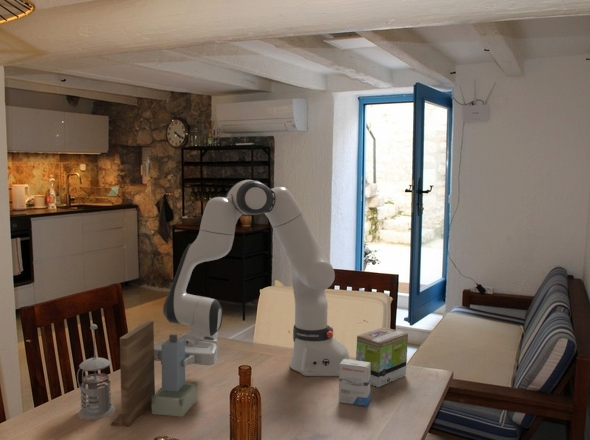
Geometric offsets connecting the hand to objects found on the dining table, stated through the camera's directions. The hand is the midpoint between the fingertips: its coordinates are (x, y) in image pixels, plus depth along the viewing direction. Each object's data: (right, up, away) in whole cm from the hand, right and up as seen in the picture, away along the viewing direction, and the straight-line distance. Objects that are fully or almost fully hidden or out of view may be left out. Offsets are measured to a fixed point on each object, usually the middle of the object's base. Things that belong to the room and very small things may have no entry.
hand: (173, 363), depth 157 cm
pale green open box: (0, -13, +2) cm, 13 cm away
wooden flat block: (-10, -13, -2) cm, 17 cm away
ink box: (+52, -13, +7) cm, 54 cm away
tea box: (+62, -11, +24) cm, 68 cm away
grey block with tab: (0, -7, +1) cm, 7 cm away
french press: (-22, -13, -1) cm, 26 cm away
